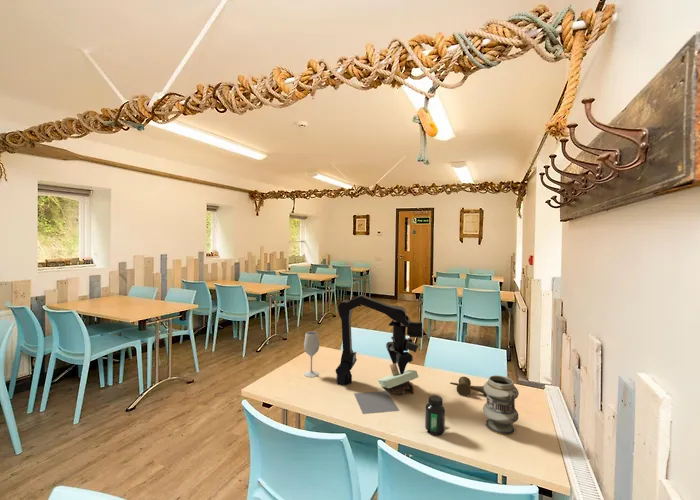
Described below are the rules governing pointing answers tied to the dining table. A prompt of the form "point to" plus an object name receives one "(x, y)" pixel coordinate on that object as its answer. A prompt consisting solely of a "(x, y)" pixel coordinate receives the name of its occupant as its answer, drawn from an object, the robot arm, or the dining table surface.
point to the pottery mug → (401, 389)
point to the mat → (375, 402)
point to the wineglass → (311, 349)
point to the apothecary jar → (500, 404)
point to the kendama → (467, 387)
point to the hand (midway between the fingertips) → (398, 369)
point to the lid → (397, 377)
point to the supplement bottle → (435, 416)
